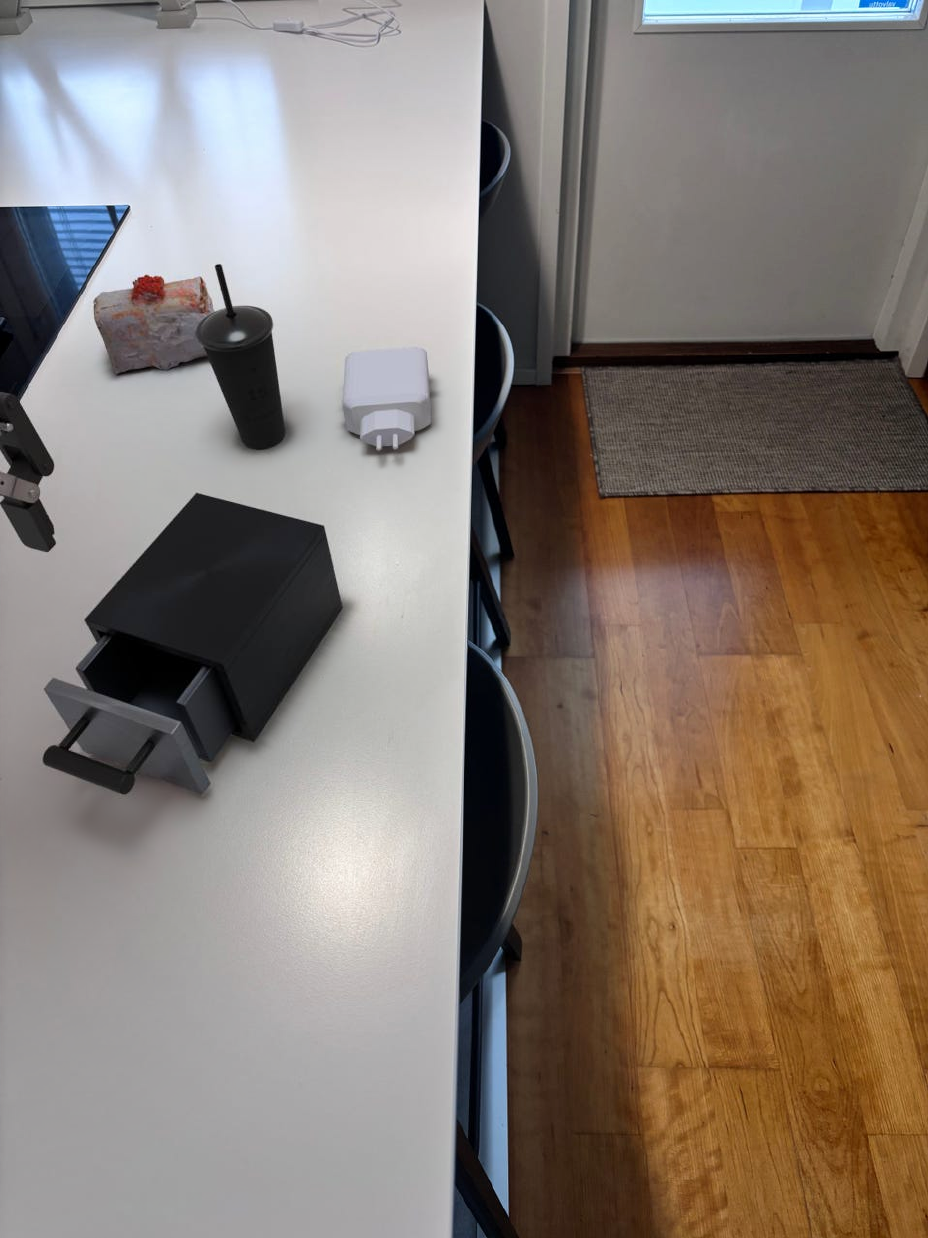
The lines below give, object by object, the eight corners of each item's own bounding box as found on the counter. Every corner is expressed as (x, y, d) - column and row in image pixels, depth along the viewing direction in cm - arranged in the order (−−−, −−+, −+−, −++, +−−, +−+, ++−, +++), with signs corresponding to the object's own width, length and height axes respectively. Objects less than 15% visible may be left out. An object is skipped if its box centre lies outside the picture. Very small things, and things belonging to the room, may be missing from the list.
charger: (346, 470, 100) (350, 387, 110) (433, 464, 100) (429, 381, 110) (339, 434, 96) (344, 351, 106) (429, 427, 96) (425, 345, 106)
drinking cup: (215, 436, 105) (162, 266, 90) (272, 406, 108) (230, 237, 93) (253, 467, 101) (204, 295, 86) (311, 435, 104) (274, 264, 89)
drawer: (171, 843, 71) (136, 783, 65) (48, 795, 74) (3, 734, 68) (295, 658, 82) (276, 592, 76) (184, 624, 86) (156, 557, 79)
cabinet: (254, 742, 78) (223, 663, 70) (126, 698, 81) (83, 619, 74) (343, 607, 87) (324, 525, 79) (225, 574, 91) (196, 492, 83)
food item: (222, 328, 120) (201, 254, 113) (227, 362, 115) (206, 287, 107) (113, 348, 118) (84, 274, 111) (113, 384, 113) (83, 309, 106)
